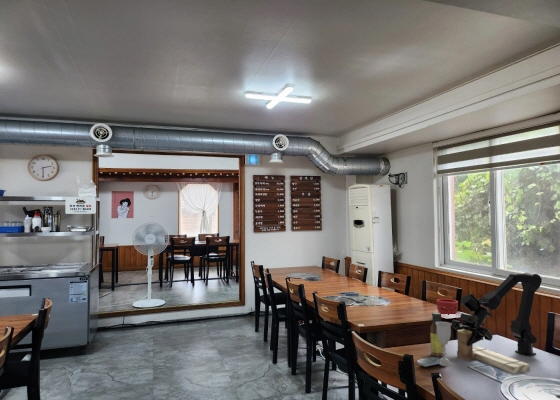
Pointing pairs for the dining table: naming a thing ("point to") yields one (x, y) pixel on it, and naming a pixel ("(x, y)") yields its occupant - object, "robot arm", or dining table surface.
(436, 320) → the sauce bottle
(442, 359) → the chalice
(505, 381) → the dining table surface
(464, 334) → the tan pillar on plinth
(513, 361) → the board
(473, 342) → the robot arm
